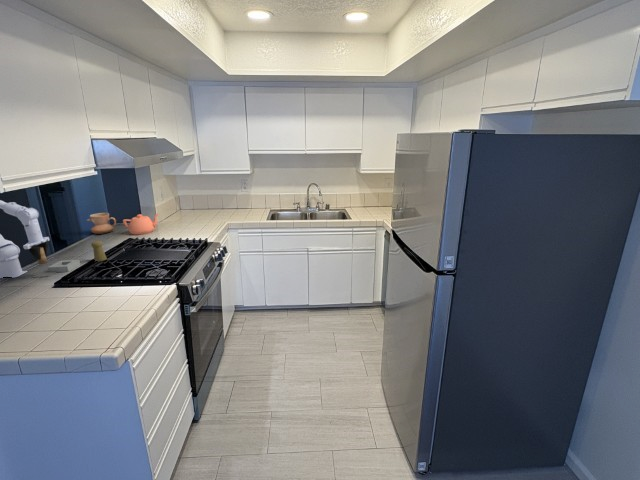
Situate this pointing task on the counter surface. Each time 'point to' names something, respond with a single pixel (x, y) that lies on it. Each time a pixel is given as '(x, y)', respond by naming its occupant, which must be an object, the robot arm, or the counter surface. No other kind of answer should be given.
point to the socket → (64, 266)
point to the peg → (42, 257)
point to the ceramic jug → (101, 223)
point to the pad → (44, 274)
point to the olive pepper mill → (98, 251)
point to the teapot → (141, 224)
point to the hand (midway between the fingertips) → (41, 258)
